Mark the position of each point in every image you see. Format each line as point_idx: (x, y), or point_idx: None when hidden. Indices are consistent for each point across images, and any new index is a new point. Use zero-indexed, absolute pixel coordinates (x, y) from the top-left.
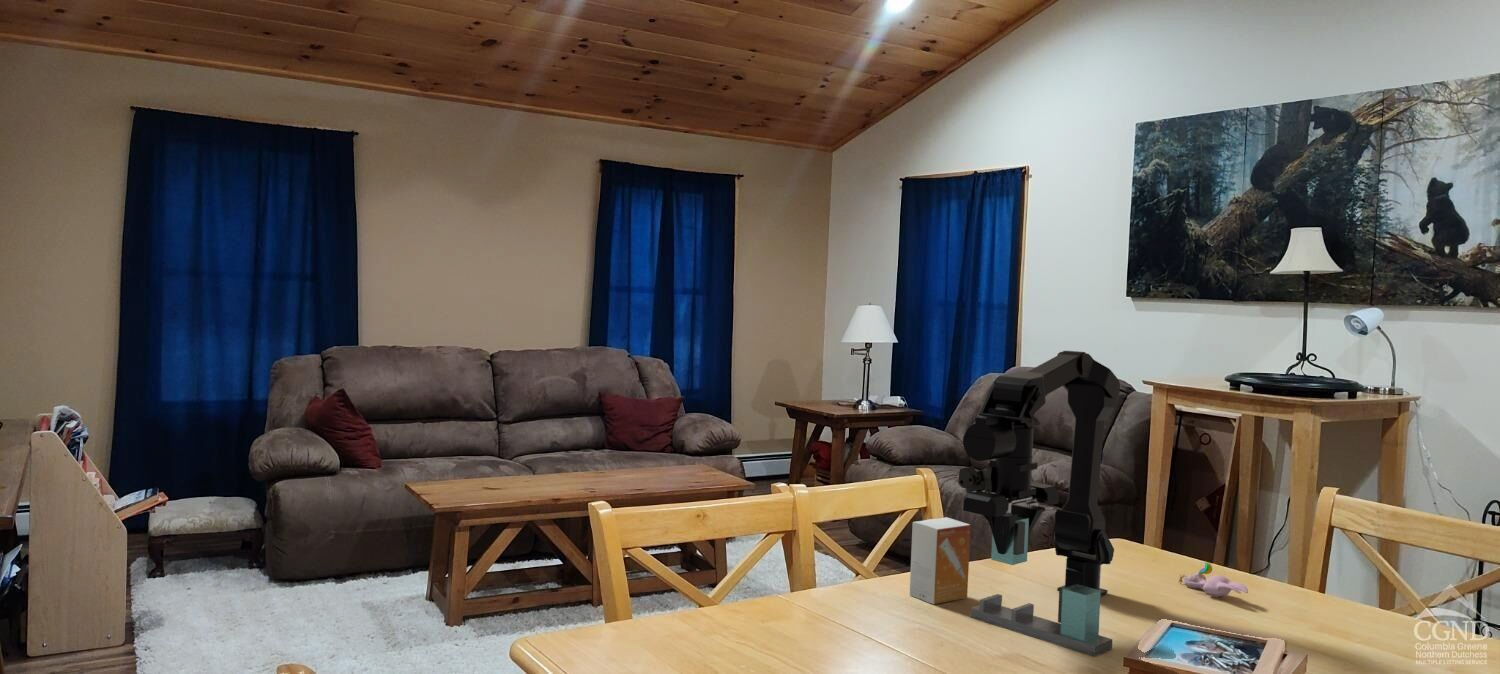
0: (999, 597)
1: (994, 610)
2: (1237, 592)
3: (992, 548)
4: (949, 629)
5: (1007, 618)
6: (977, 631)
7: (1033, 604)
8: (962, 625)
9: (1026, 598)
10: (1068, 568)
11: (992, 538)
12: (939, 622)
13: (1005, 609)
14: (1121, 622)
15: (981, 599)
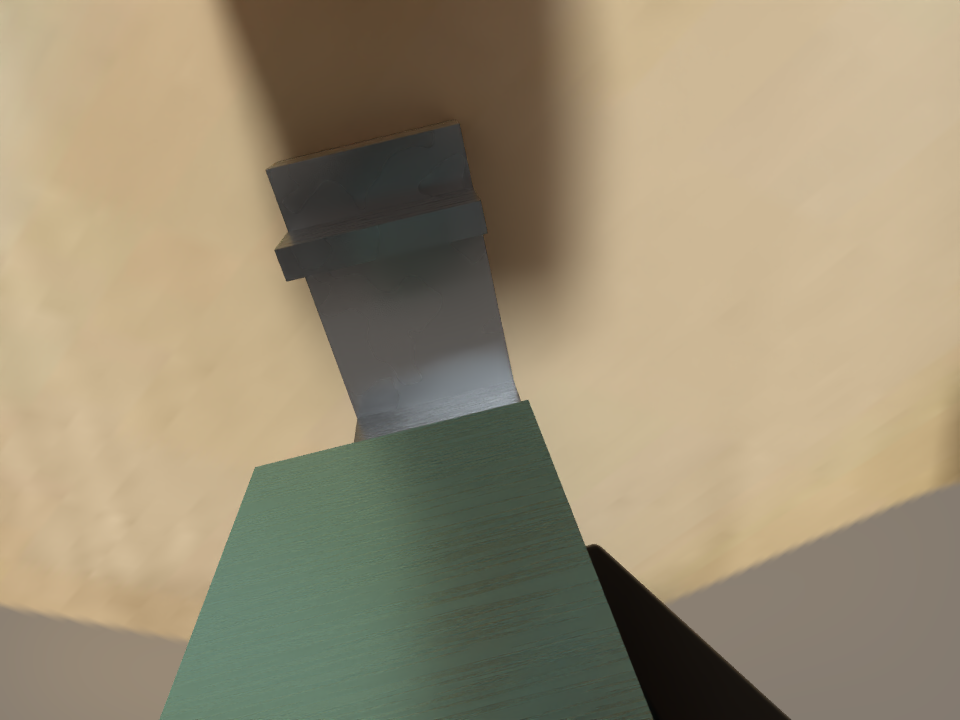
0: (458, 238)
1: (380, 266)
2: None
3: (224, 573)
4: (37, 278)
5: (358, 393)
6: (183, 354)
7: None
8: (149, 255)
9: (855, 15)
10: None
11: (171, 703)
12: (25, 157)
13: (454, 276)
14: (853, 474)
15: (287, 253)
